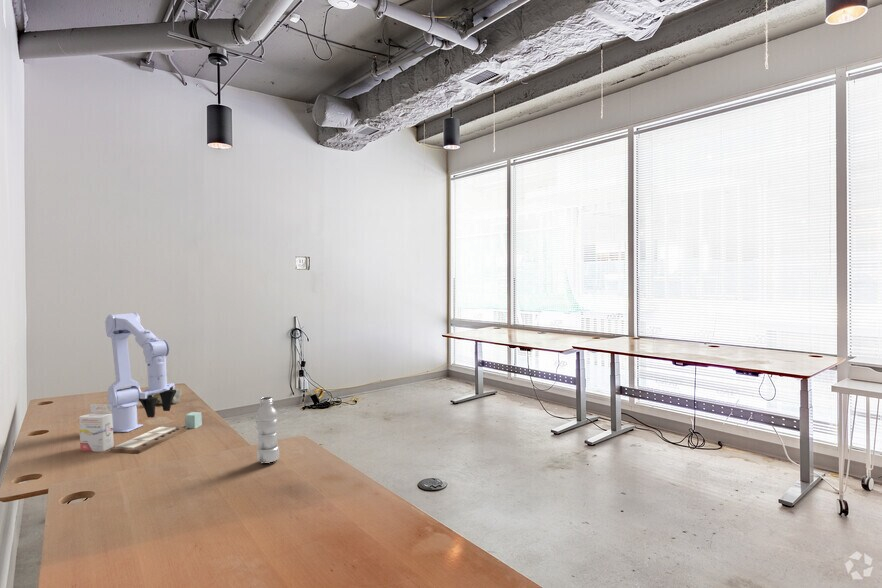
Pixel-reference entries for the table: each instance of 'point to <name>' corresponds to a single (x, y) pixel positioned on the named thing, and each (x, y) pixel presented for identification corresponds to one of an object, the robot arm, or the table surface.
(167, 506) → the table surface
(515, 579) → the table surface
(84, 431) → the ink cartridge box
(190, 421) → the sage block
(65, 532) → the table surface
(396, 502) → the table surface
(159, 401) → the ceramic sculpture
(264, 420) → the plastic bottle
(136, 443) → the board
